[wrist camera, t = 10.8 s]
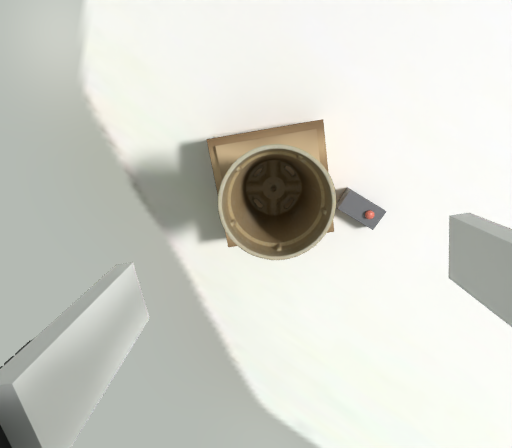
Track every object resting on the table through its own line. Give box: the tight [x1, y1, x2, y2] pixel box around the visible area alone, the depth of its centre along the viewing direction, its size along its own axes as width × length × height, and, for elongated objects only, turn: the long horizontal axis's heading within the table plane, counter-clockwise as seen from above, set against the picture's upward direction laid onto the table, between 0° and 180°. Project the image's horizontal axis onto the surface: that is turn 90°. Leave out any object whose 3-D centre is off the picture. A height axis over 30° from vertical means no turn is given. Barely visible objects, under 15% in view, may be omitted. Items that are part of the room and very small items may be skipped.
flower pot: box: [218, 144, 336, 260], centre depth 29 cm, size 9×9×9 cm
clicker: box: [336, 188, 386, 230], centre depth 36 cm, size 5×3×2 cm, turn 60°
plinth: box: [207, 120, 334, 247], centre depth 35 cm, size 12×12×4 cm
